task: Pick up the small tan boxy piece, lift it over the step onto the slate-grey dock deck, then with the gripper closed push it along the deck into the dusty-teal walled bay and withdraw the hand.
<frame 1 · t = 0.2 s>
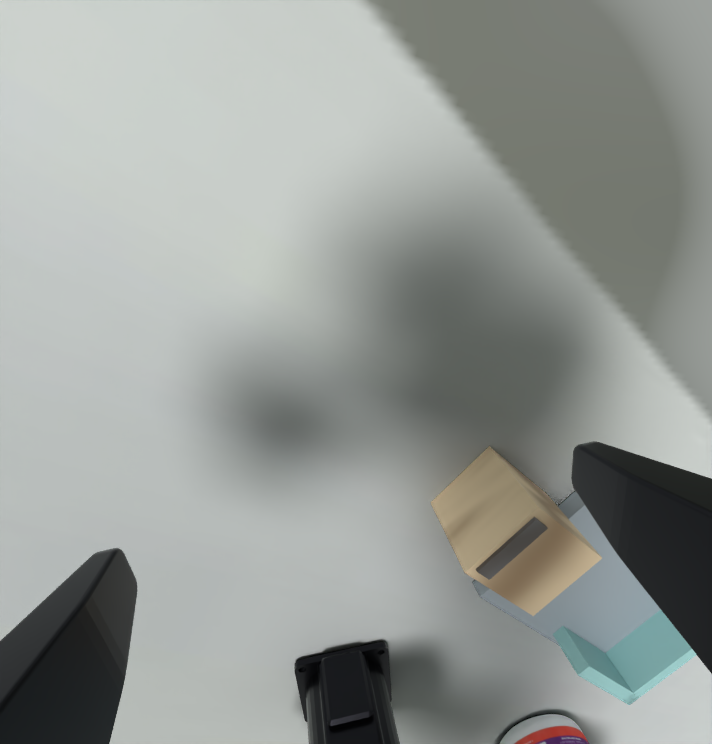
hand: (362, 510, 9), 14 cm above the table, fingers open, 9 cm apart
dock: (608, 587, 34), on the table
pill bottle: (532, 733, 41), on the table
tan boxy piece: (489, 497, 28), on the table
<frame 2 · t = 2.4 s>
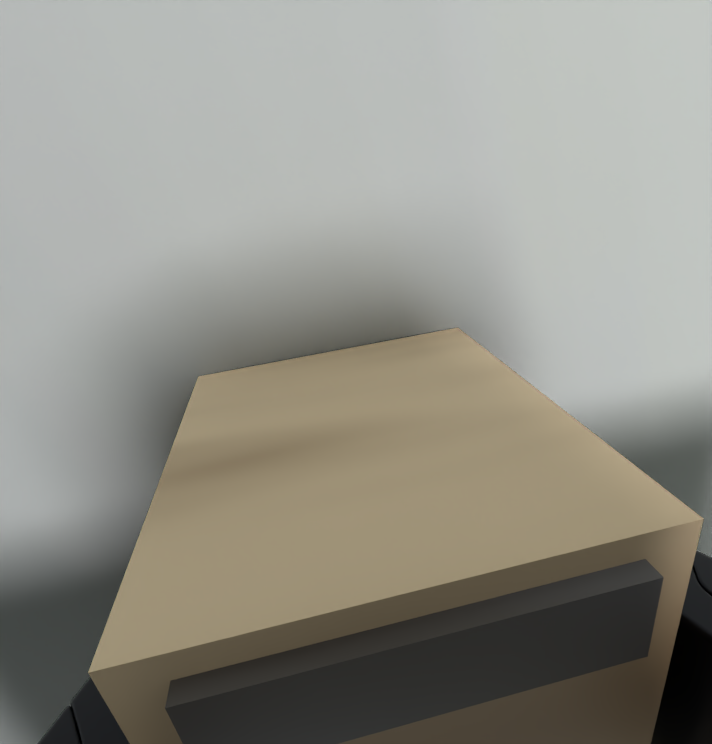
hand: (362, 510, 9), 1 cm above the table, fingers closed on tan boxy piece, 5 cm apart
tan boxy piece: (353, 479, 10), on the table, touching gripper
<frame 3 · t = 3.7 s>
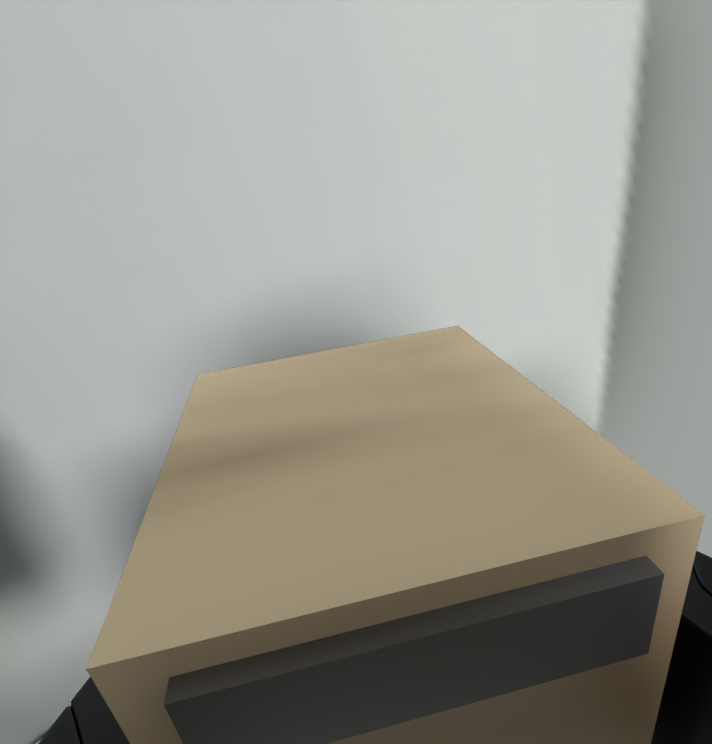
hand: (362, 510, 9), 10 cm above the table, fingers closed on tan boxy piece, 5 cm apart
tan boxy piece: (353, 477, 10), point 9 cm above the table, touching gripper
when the fingers open (3 cm above the table, at t = 5.2 s): tan boxy piece stays where it is, resting on dock.
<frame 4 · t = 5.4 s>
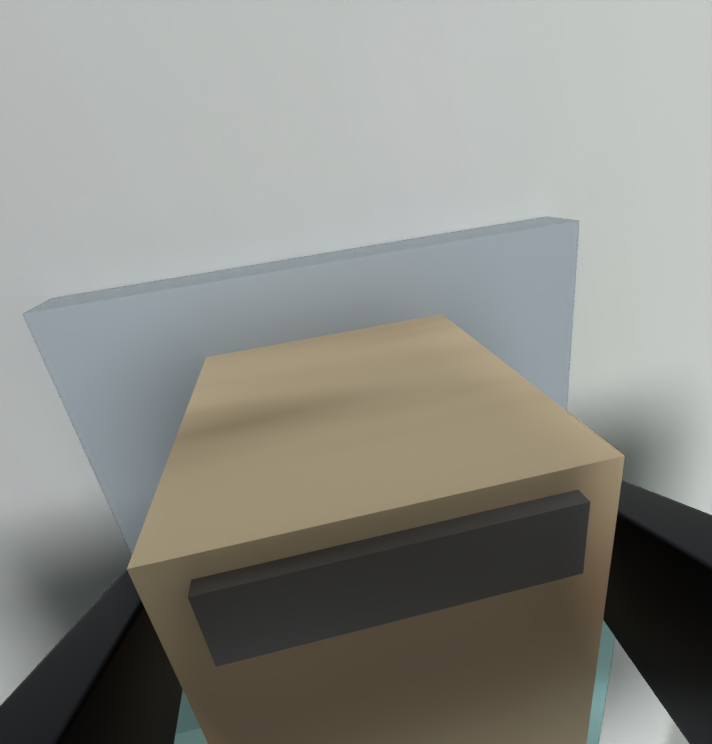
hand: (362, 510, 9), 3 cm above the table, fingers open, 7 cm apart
dock: (368, 581, 14), on the table
tan boxy piece: (347, 454, 11), point 1 cm above the table, touching dock
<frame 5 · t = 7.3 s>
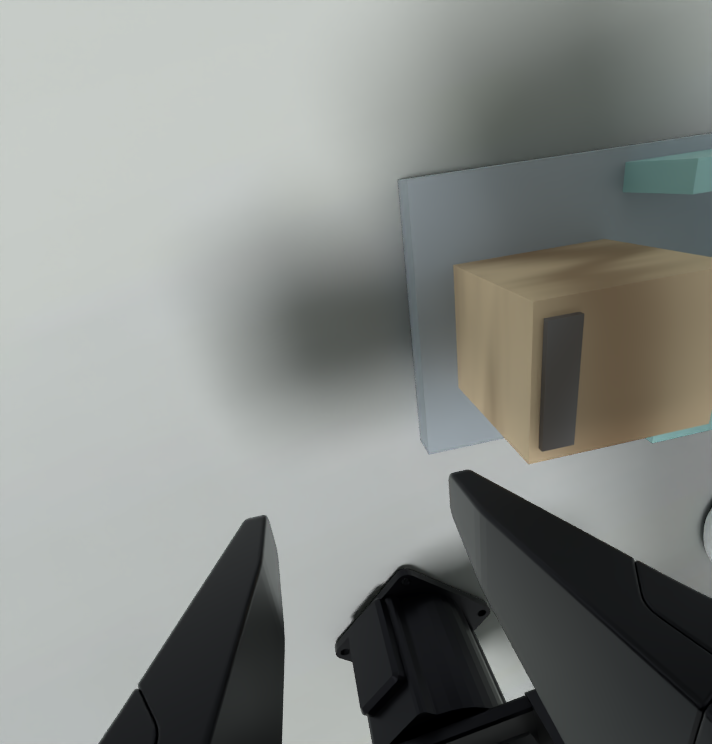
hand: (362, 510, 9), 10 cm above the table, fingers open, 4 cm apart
dock: (635, 284, 19), on the table
tan boxy piece: (528, 316, 18), point 1 cm above the table, touching dock
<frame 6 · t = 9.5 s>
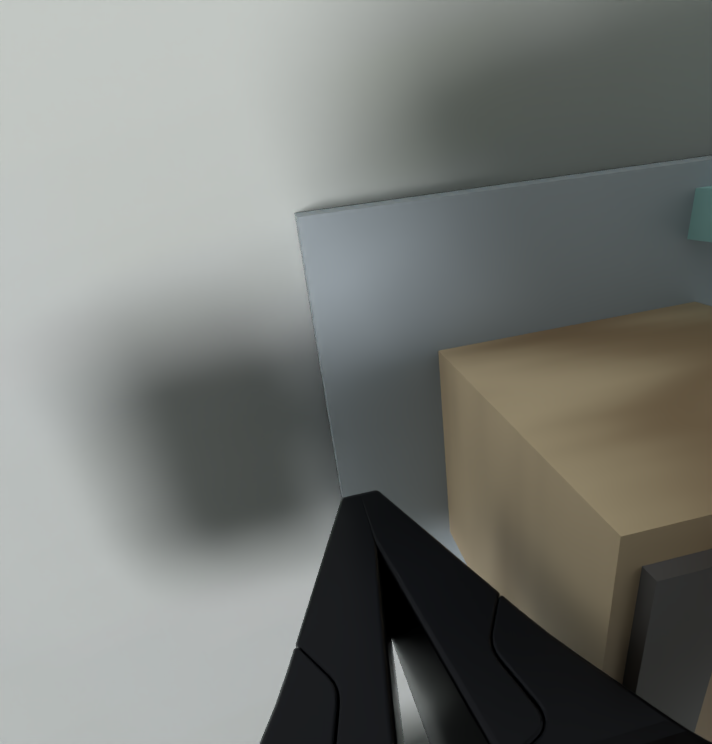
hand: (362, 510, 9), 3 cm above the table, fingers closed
dock: (690, 373, 12), on the table
tan boxy piece: (564, 424, 11), point 1 cm above the table, touching gripper
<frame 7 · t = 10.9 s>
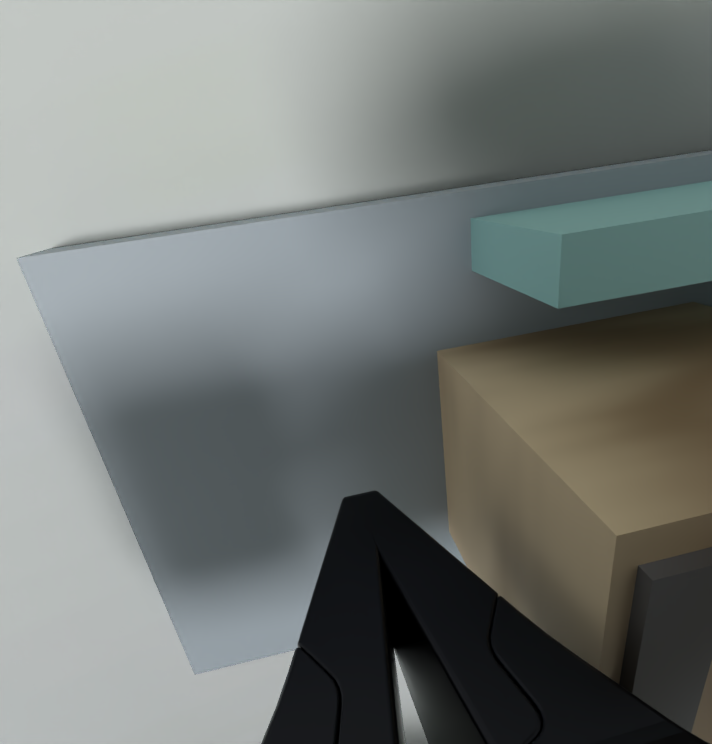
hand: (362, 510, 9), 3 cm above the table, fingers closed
dock: (529, 401, 12), on the table
tan boxy piece: (563, 424, 11), point 1 cm above the table, touching dock, gripper
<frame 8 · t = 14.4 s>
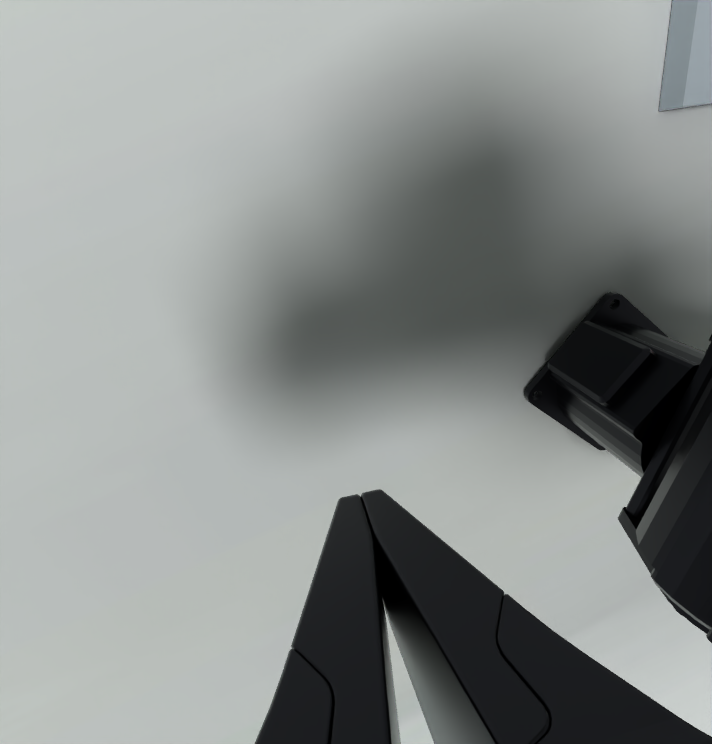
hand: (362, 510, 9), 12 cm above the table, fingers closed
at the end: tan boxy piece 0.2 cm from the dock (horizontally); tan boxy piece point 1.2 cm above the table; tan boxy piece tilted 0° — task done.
